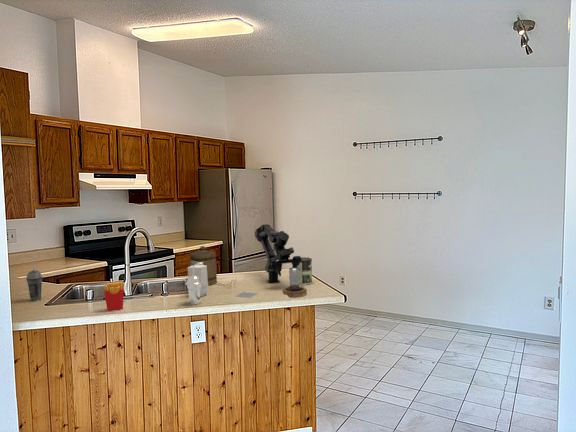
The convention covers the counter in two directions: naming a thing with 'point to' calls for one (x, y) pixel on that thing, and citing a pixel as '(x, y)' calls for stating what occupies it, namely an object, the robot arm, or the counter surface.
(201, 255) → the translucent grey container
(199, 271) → the skincare box
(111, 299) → the french fries
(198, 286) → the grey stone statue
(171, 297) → the counter surface
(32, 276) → the beverage cup
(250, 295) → the stand
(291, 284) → the sleeve
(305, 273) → the coffee can
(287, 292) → the brown shallow round dish
